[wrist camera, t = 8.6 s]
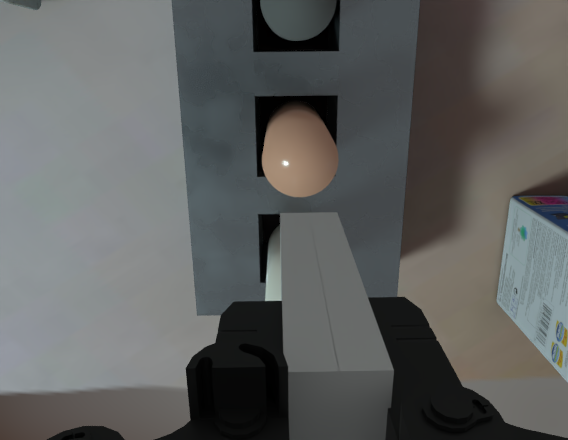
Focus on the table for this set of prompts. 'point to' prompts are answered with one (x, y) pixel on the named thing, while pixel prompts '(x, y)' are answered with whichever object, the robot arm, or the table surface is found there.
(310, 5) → the gray plug
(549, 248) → the ink cartridge box
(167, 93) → the table surface
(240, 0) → the grey peg holder block
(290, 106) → the terracotta plug
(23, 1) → the ceramic mug
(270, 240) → the white plug
